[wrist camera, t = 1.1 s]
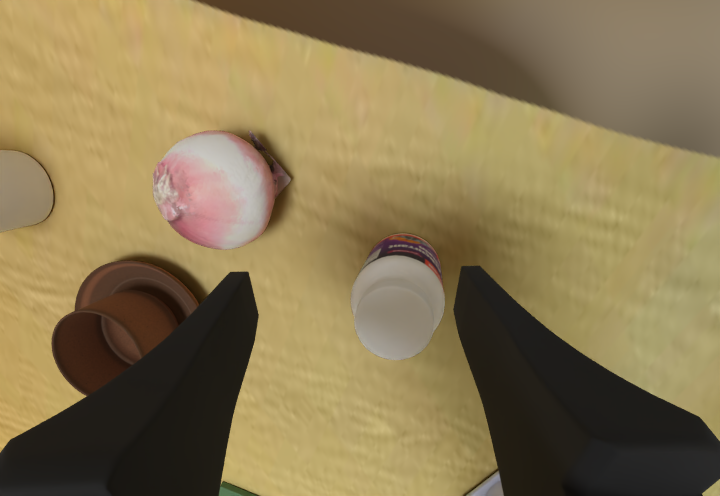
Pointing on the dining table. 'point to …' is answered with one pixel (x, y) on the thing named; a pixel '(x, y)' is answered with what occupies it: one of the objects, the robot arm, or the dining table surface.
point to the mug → (23, 191)
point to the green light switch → (232, 491)
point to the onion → (217, 189)
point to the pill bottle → (398, 297)
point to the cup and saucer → (118, 321)
